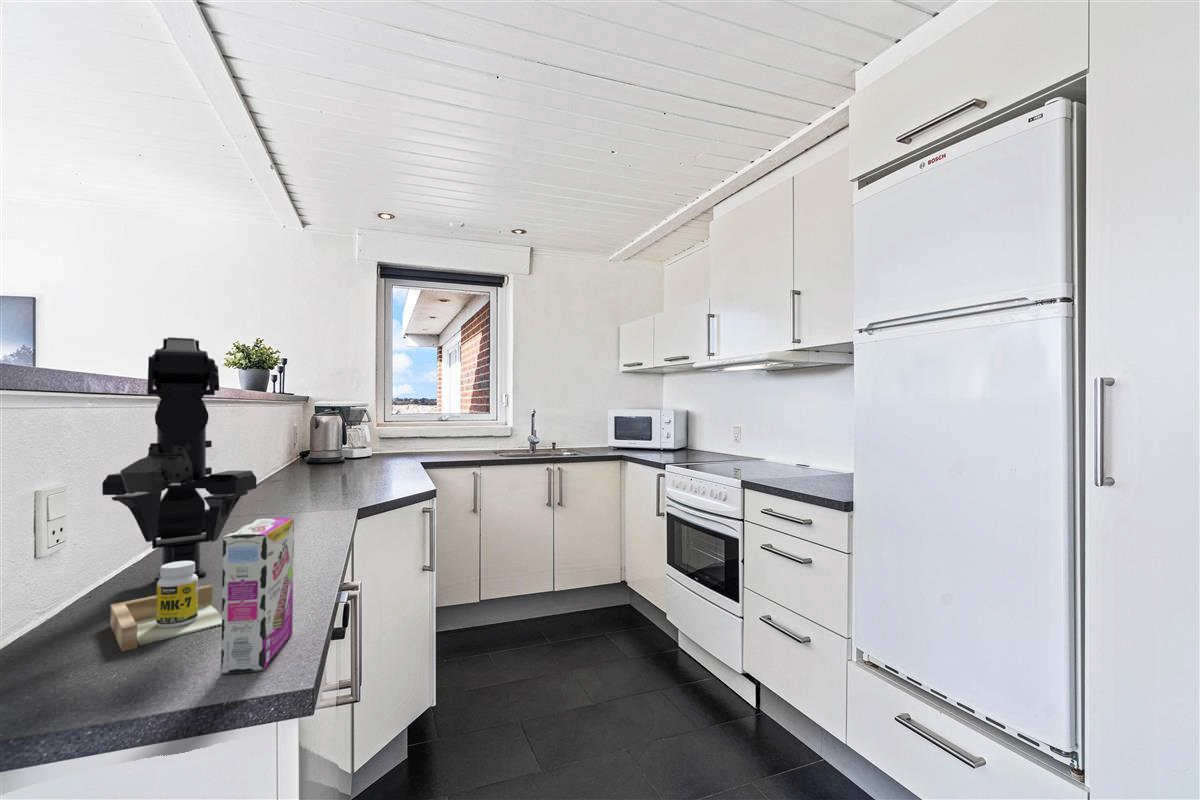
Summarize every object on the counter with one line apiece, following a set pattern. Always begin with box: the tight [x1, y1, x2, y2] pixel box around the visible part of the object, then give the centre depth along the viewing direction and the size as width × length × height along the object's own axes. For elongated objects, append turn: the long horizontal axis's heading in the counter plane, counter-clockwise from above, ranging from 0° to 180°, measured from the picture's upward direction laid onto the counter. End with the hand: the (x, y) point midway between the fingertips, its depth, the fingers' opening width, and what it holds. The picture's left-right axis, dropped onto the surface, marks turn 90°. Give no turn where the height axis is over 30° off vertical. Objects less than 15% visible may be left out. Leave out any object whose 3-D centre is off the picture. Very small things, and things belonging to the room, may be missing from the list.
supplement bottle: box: [156, 561, 199, 628], centre depth 81 cm, size 5×5×8 cm
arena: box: [109, 584, 222, 653], centre depth 80 cm, size 12×12×3 cm
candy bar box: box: [220, 517, 295, 675], centre depth 71 cm, size 11×5×16 cm, turn 13°
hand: (182, 541), depth 82 cm, fingers open, 9 cm apart
